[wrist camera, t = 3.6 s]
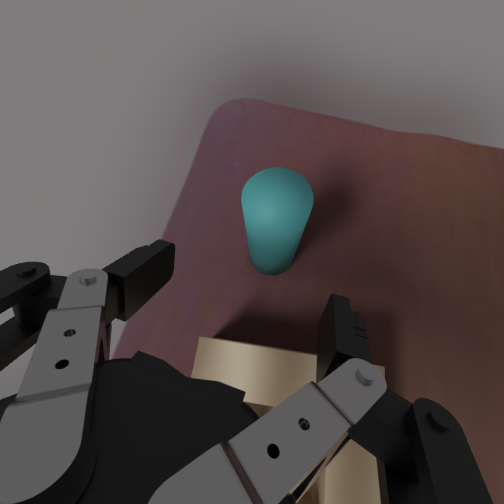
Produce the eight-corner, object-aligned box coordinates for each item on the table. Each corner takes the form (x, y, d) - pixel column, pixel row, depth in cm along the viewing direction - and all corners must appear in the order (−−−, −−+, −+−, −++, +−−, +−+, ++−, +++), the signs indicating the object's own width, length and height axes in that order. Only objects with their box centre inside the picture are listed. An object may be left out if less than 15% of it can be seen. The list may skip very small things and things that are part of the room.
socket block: (357, 360, 21) (384, 366, 16) (353, 554, 17) (387, 636, 12) (213, 337, 22) (199, 336, 17) (179, 514, 18) (149, 576, 13)
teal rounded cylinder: (295, 237, 24) (316, 171, 15) (291, 278, 23) (310, 234, 13) (253, 231, 24) (247, 164, 15) (246, 272, 23) (235, 225, 14)
